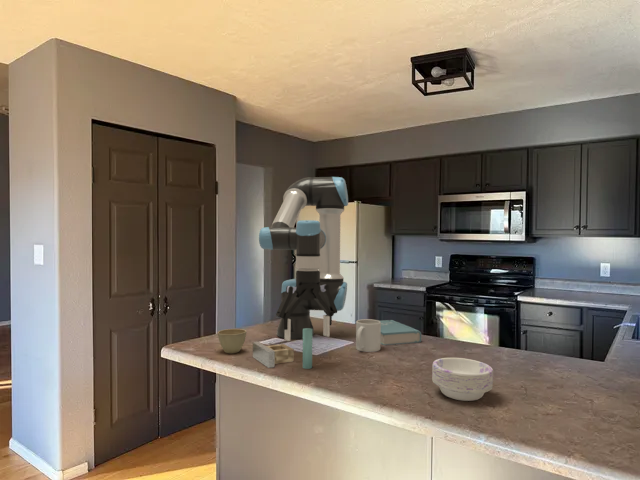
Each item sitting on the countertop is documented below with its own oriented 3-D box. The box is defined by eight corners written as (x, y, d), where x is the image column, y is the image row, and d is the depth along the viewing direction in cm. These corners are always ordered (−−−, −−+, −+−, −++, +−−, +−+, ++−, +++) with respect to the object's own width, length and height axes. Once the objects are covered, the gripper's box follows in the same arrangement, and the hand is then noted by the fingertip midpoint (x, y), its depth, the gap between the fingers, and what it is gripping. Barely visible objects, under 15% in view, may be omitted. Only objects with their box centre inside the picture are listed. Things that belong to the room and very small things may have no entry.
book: (359, 333, 193) (359, 321, 193) (393, 331, 198) (393, 319, 198) (383, 346, 171) (383, 333, 171) (421, 343, 176) (421, 330, 176)
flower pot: (249, 348, 165) (249, 328, 165) (242, 355, 155) (242, 335, 155) (222, 347, 166) (222, 328, 166) (213, 354, 156) (213, 334, 156)
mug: (374, 345, 171) (374, 318, 171) (385, 351, 162) (385, 323, 162) (347, 347, 168) (347, 320, 168) (357, 353, 159) (357, 325, 159)
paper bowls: (505, 402, 114) (506, 370, 114) (452, 408, 110) (453, 375, 110) (469, 382, 129) (469, 355, 129) (421, 387, 124) (421, 358, 124)
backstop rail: (258, 356, 155) (258, 341, 155) (274, 367, 143) (274, 351, 142) (252, 357, 154) (252, 342, 154) (268, 367, 142) (268, 351, 141)
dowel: (309, 365, 144) (309, 327, 144) (313, 368, 142) (314, 329, 142) (300, 366, 143) (301, 328, 143) (305, 369, 140) (305, 330, 140)
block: (283, 355, 156) (283, 343, 156) (293, 361, 149) (293, 349, 149) (261, 358, 152) (261, 346, 152) (270, 364, 145) (270, 352, 145)
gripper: (336, 268, 151) (335, 332, 151) (266, 270, 139) (265, 339, 139) (348, 269, 145) (347, 336, 145) (275, 271, 133) (275, 344, 133)
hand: (307, 338), depth 142 cm, fingers open, 13 cm apart
